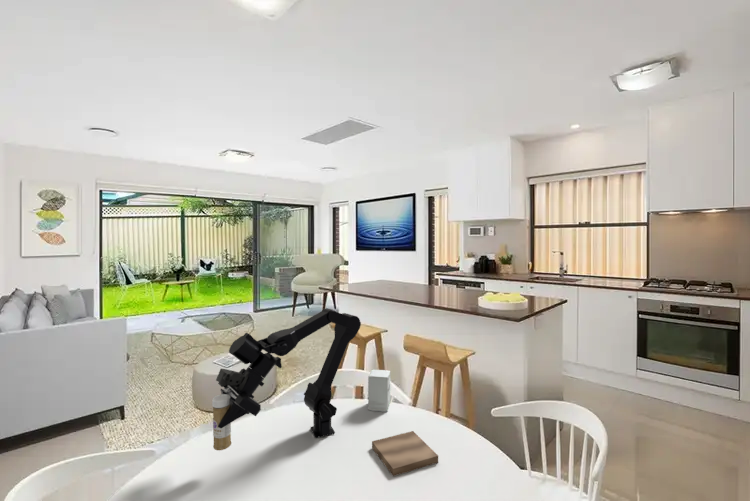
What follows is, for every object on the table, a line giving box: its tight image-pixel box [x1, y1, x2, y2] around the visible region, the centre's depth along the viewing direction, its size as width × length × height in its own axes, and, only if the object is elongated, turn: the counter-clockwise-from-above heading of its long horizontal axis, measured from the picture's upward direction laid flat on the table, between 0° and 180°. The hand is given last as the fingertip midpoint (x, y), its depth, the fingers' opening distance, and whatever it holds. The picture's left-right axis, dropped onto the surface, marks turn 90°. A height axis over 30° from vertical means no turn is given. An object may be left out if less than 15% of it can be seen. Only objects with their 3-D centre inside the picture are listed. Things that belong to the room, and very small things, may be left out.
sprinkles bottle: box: [211, 393, 232, 451], centre depth 96 cm, size 5×5×14 cm
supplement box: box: [367, 369, 391, 413], centre depth 133 cm, size 7×7×13 cm
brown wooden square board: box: [371, 430, 439, 477], centre depth 103 cm, size 14×14×2 cm
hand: (216, 423), depth 95 cm, fingers closed on sprinkles bottle, 4 cm apart
